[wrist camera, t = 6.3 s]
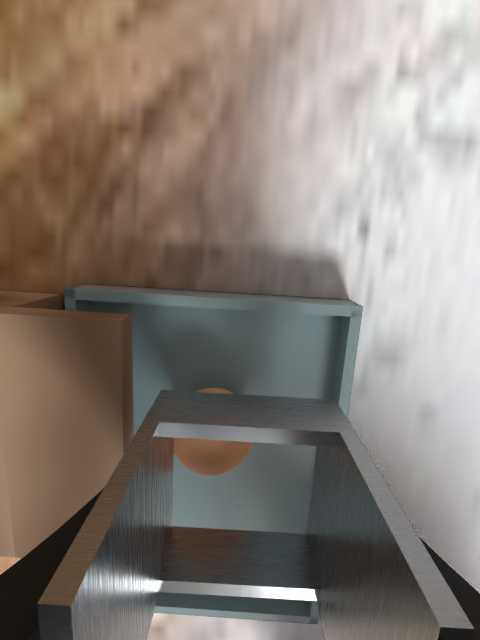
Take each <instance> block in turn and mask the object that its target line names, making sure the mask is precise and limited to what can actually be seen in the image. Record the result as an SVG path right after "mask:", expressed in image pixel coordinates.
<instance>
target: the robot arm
mask: <svg viewBox="0 0 480 640" xmlns="http://www.w3.org/2000/svg"><path fill="white" fill-rule="evenodd" d="M103 489H104V488H103ZM103 489H102V490H101V491H100V492H99V493H98V494H97V495H95V496H94V497H93V498H92V499H91V500H90V501H89V502H88V503H87V504H86V505H84V506H83V507H82V508H81V509H80V510H79V511H78V512H77V513H75V514H74V515H73V516H72V517H71V518H70V519H69V520H68V521H66V522H65V523H64V524H63V525H62V526H61V527H60V528H58V529H57V530H56V531H55V532H54V533H52V534H51V535H50V536H49V537H48V538H46V539H45V540H44V541H43V542H41V543H40V544H39V545H38V546H37V547H35V548H34V549H33V550H32V551H30V552H29V553H28V554H27V555H26V556H24V557H23V558H22V559H21V560H19V561H18V562H17V563H15V564H14V565H13V566H12V567H10V568H9V569H8V570H6V571H5V572H4V573H2V574H1V575H0V640H41V639H40V629H39V618H38V608H37V603H38V601H39V600H40V598H41V596H42V595H43V593H44V591H45V589H46V588H47V586H48V584H49V582H50V581H51V579H52V577H53V576H54V574H55V572H56V570H57V569H58V567H59V565H60V563H61V562H62V560H63V558H64V557H65V555H66V553H67V551H68V550H69V548H70V546H71V544H72V543H73V541H74V539H75V538H76V536H77V534H78V532H79V531H80V529H81V527H82V525H83V524H84V522H85V520H86V519H87V517H88V515H89V513H90V512H91V510H92V508H93V506H94V505H95V503H96V501H97V500H98V498H99V496H100V494H101V493H102V491H103ZM419 538H420V537H419ZM420 540H421V541H422V543H423V545H424V546H425V548H426V550H427V551H428V553H429V555H430V556H431V558H432V560H433V561H434V563H435V565H436V566H437V568H438V570H439V571H440V573H441V574H442V576H443V578H444V579H445V581H446V583H447V584H448V586H449V588H450V589H451V591H452V593H453V594H454V596H455V598H456V599H457V601H458V603H459V604H460V606H461V608H462V609H463V611H464V613H465V614H466V616H467V618H468V619H469V621H470V623H471V624H472V626H473V627H474V632H473V636H472V640H480V594H479V593H478V592H477V591H476V590H475V589H474V588H473V587H472V586H471V585H470V584H468V583H467V582H466V581H465V580H464V579H463V578H462V577H461V576H460V575H459V574H457V573H456V572H455V571H454V570H453V569H452V568H451V567H450V566H449V565H448V564H447V563H446V562H445V561H443V560H442V559H441V558H440V557H439V556H438V555H437V554H436V553H435V552H434V551H433V550H432V549H431V548H430V547H429V546H428V545H427V544H426V543H425V542H424V541H423V540H422V539H421V538H420Z"/></svg>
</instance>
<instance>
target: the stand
mask: <svg viewBox="0 0 480 640" xmlns="http://www.w3.org/2000/svg"><path fill="white" fill-rule="evenodd" d="M133 437H134V422H133V349H132V314H120V313H104V312H88V311H72V310H63V307H62V294H52V293H36V292H19V291H3V290H0V556H4V557H19V558H23V557H24V556H26V555H27V554H28V553H29V552H30V551H32V550H33V549H34V548H35V547H37V546H38V545H39V544H40V543H41V542H43V541H44V540H45V539H46V538H48V537H49V536H50V535H51V534H52V533H54V532H55V531H56V530H57V529H58V528H60V527H61V526H62V525H63V524H64V523H65V522H66V521H68V520H69V519H70V518H71V517H72V516H73V515H74V514H75V513H77V512H78V511H79V510H80V509H81V508H82V507H83V506H84V505H86V504H87V503H88V502H89V501H90V500H91V499H92V498H93V497H94V496H95V495H97V494H98V493H99V492H100V491H101V490H102V489H103V488H104V487H105V486H106V484H107V482H108V481H109V479H110V477H111V475H112V474H113V472H114V470H115V468H116V467H117V465H118V463H119V462H120V460H121V458H122V456H123V455H124V453H125V451H126V449H127V448H128V446H129V444H130V443H131V441H132V439H133Z"/></svg>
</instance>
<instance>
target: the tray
mask: <svg viewBox="0 0 480 640" xmlns="http://www.w3.org/2000/svg"><path fill="white" fill-rule="evenodd" d="M64 299H65V310H72V311H88V312H104V313H120V314H132V349H133V422H134V436H135V434H136V432H137V430H138V429H139V427H140V425H141V424H142V422H143V420H144V418H145V417H146V415H147V413H148V411H149V410H150V408H151V406H152V405H153V403H154V401H155V399H156V398H157V396H158V394H159V392H160V391H161V390H176V391H193V392H196V391H198V390H201V389H204V388H221V389H225V390H228V391H230V392H232V393H234V394H244V395H261V396H278V397H295V398H312V399H329V400H336V401H337V402H338V404H339V406H340V407H341V409H342V411H343V412H344V414H345V416H346V417H347V416H348V409H349V402H350V395H351V388H352V381H353V374H354V367H355V360H356V352H357V345H358V338H359V331H360V324H361V317H362V310H363V306H361V305H359V304H357V303H355V302H353V301H351V300H345V299H329V298H312V297H296V296H279V295H263V294H247V293H230V292H214V291H197V290H181V289H165V288H148V287H132V286H115V285H99V284H81V285H77V286H72V287H68V288H64ZM316 449H317V446H310V445H293V444H276V443H259V442H252V445H251V448H250V450H249V452H248V454H247V455H246V457H245V458H244V460H243V461H242V462H241V463H240V464H239V465H238V466H237V467H235V468H234V469H232V470H231V471H229V472H227V473H224V474H221V475H215V476H206V475H201V474H198V473H195V472H193V471H191V470H189V469H188V468H187V467H185V466H184V465H183V464H182V463H181V462H180V461H179V459H178V458H177V456H176V454H175V453H174V461H173V523H172V526H179V527H196V528H214V529H231V530H248V531H265V532H283V533H300V534H306V531H307V523H308V515H309V507H310V499H311V490H312V482H313V474H314V466H315V458H316ZM153 613H166V614H180V615H194V616H208V617H222V618H236V619H251V620H265V621H279V622H293V623H307V624H318V620H319V610H318V605H317V601H307V600H290V599H273V598H255V597H238V596H221V595H203V594H186V593H168V592H158V596H157V600H156V604H155V608H154V612H153Z"/></svg>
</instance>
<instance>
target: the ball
mask: <svg viewBox="0 0 480 640" xmlns="http://www.w3.org/2000/svg"><path fill="white" fill-rule="evenodd" d="M196 392H210V393H227V394H234V393H232V392H230V391H228V390H225V389H221V388H204V389H201V390H198V391H196ZM251 445H252V442H242V441H225V440H208V439H190V438H174V453H175V454H176V456H177V458H178V459H179V461H180V462H181V463H182V464H183V465H184V466H185V467H187V468H188V469H189V470H191V471H193V472H195V473H198V474H201V475H206V476H215V475H221V474H224V473H227V472H229V471H231V470H232V469H234V468H235V467H237V466H238V465H239V464H240V463H241V462H242V461H243V460H244V458H245V457H246V455H247V454H248V452H249V450H250V448H251Z"/></svg>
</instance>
